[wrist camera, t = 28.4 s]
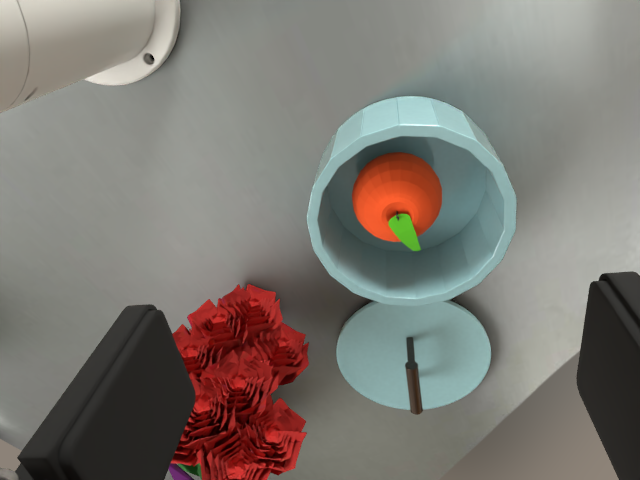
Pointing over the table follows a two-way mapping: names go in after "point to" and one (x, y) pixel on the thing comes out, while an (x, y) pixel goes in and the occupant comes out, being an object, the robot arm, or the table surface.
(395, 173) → the clementine
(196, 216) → the table surface
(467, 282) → the pot
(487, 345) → the lid
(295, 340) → the bouquet
